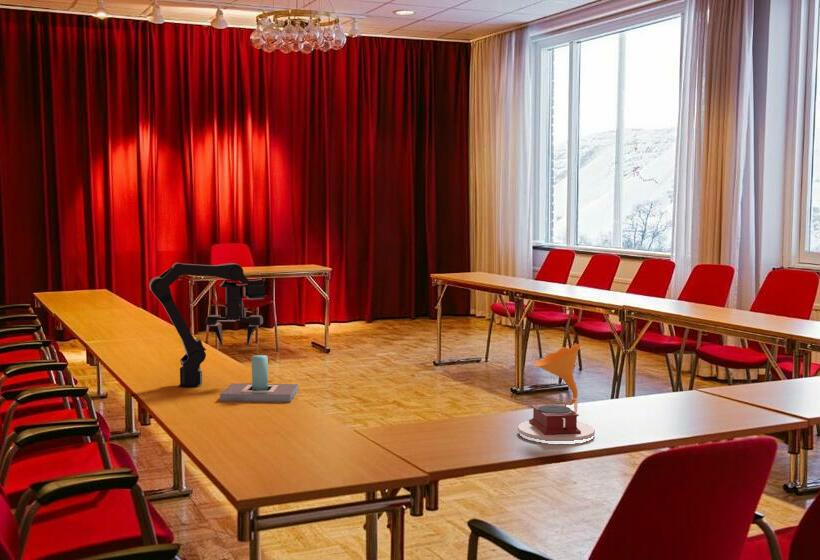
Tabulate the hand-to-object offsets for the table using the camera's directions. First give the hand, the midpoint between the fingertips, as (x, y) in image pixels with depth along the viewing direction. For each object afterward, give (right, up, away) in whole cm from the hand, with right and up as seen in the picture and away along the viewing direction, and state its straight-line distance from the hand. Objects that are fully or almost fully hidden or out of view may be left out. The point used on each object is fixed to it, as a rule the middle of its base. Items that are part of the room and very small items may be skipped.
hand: (235, 345), depth 311 cm
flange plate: (+12, -15, -21) cm, 29 cm away
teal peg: (+12, -15, -21) cm, 29 cm away
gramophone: (+100, -20, -67) cm, 122 cm away
